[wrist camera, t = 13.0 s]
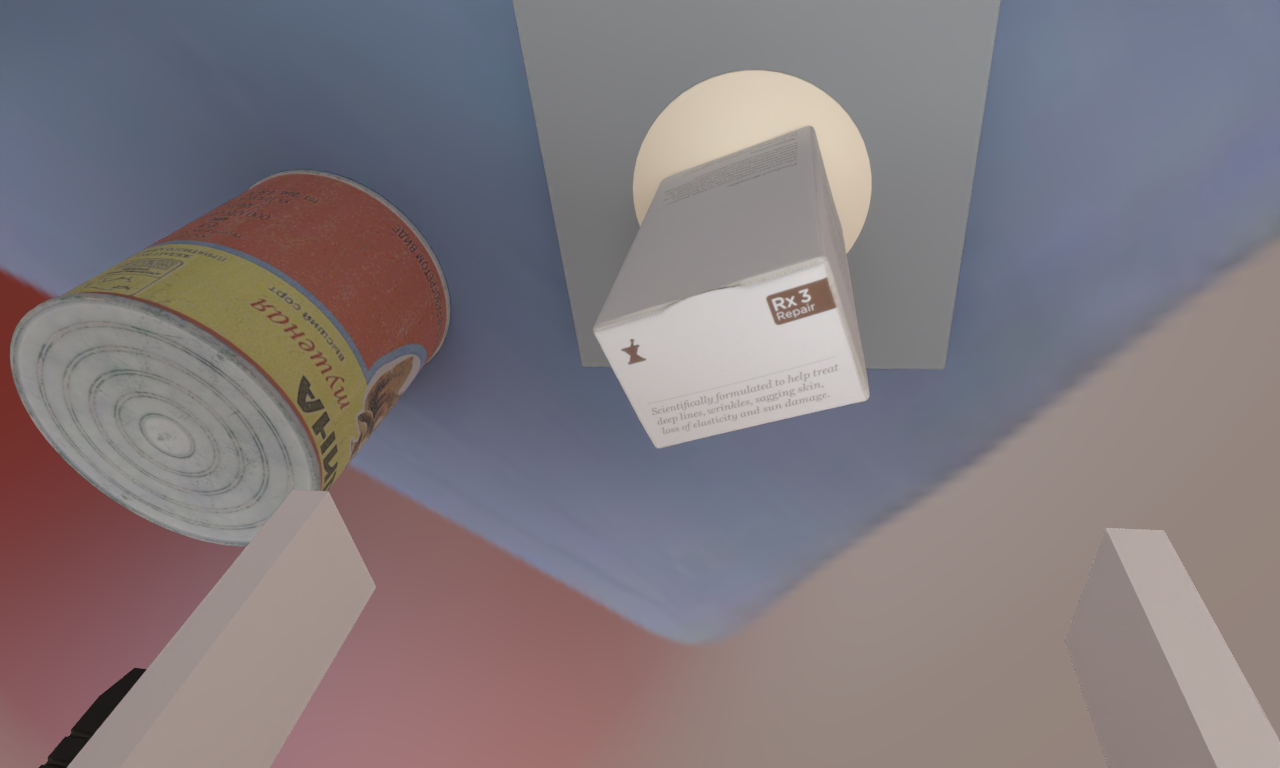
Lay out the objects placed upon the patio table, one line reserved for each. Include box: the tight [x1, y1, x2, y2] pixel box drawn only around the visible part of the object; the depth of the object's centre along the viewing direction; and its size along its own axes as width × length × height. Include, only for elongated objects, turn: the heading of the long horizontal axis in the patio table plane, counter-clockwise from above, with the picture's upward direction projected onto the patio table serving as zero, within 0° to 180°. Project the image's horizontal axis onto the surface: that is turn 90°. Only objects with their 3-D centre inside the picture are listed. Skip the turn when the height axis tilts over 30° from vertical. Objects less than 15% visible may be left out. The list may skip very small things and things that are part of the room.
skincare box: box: [593, 126, 870, 449], centre depth 22 cm, size 6×4×12 cm
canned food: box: [10, 169, 451, 546], centre depth 30 cm, size 11×11×12 cm
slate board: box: [512, 0, 1001, 369], centre depth 28 cm, size 16×16×1 cm
